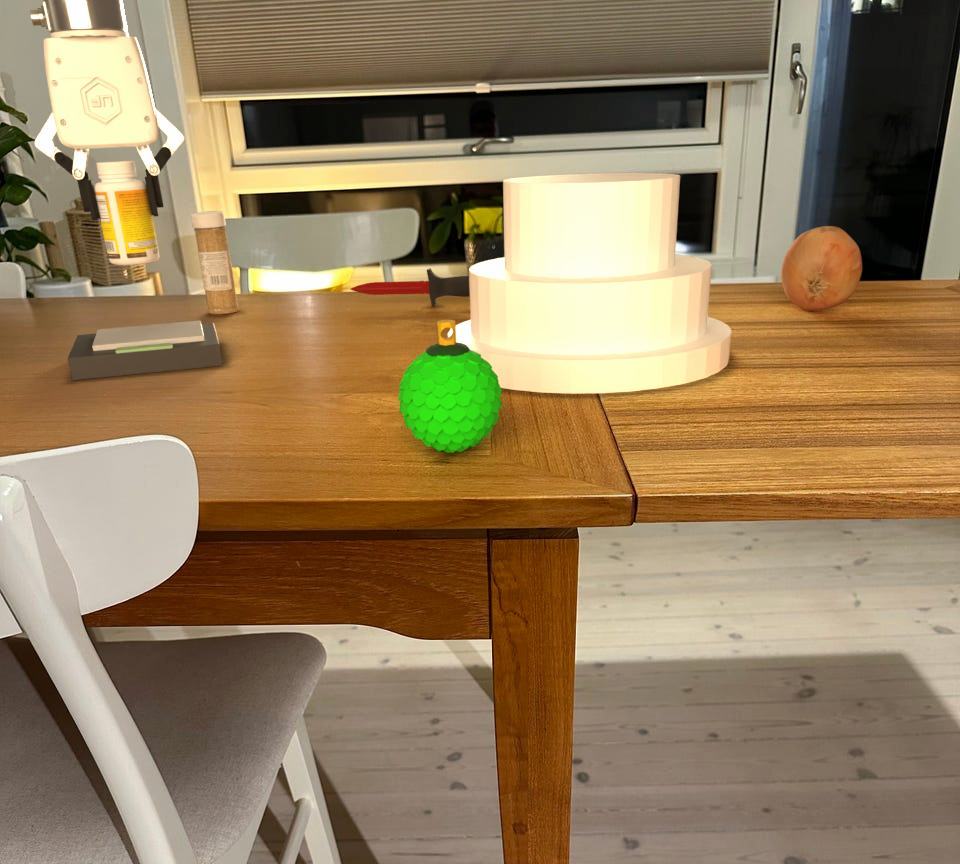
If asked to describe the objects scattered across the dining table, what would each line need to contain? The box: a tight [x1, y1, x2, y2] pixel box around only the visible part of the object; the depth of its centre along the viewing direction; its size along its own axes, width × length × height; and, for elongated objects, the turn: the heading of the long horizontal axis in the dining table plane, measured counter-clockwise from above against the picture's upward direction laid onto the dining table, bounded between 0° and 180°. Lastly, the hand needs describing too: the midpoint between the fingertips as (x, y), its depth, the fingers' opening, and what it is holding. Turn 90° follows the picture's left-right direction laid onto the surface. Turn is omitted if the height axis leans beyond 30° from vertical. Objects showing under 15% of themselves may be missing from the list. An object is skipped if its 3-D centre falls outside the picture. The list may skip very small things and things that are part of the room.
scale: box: [67, 320, 224, 381], centre depth 111 cm, size 16×14×3 cm
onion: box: [780, 225, 863, 312], centre depth 121 cm, size 10×10×10 cm
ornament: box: [397, 319, 503, 453], centre depth 74 cm, size 8×8×10 cm
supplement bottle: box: [93, 160, 160, 266], centre depth 105 cm, size 6×6×10 cm
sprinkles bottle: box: [190, 210, 240, 315], centre depth 136 cm, size 5×5×14 cm
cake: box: [447, 172, 732, 395], centre depth 99 cm, size 30×30×18 cm
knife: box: [349, 268, 470, 307], centre depth 136 cm, size 24×2×5 cm, turn 84°
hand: (125, 215), depth 105 cm, fingers closed on supplement bottle, 5 cm apart
